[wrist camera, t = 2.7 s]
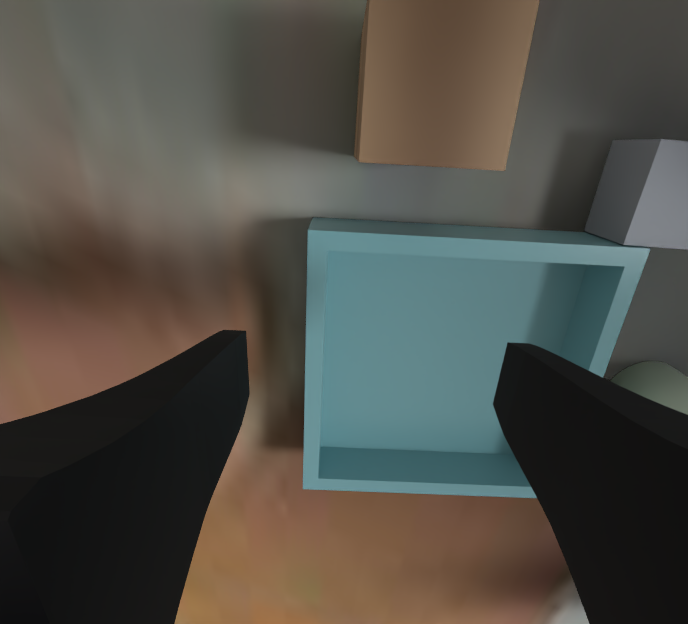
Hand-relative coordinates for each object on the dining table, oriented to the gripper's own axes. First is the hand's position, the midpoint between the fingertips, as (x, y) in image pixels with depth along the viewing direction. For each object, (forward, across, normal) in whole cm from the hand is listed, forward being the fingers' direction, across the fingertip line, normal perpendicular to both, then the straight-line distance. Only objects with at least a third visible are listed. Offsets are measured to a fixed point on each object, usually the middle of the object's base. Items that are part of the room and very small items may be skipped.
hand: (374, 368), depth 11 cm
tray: (+9, -4, +5) cm, 11 cm away
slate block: (+10, -13, -4) cm, 16 cm away
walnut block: (+9, -2, -7) cm, 12 cm away
